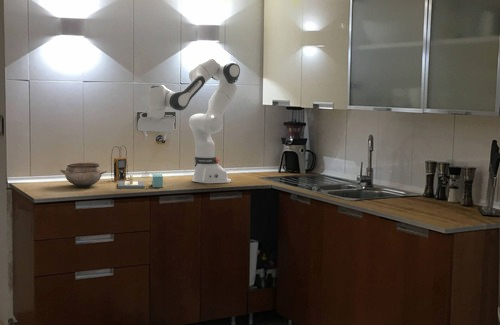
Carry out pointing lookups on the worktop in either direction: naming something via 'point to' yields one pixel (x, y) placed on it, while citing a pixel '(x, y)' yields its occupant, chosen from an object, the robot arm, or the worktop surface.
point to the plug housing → (157, 180)
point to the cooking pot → (83, 173)
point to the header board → (131, 184)
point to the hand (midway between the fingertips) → (155, 139)
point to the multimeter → (119, 168)
